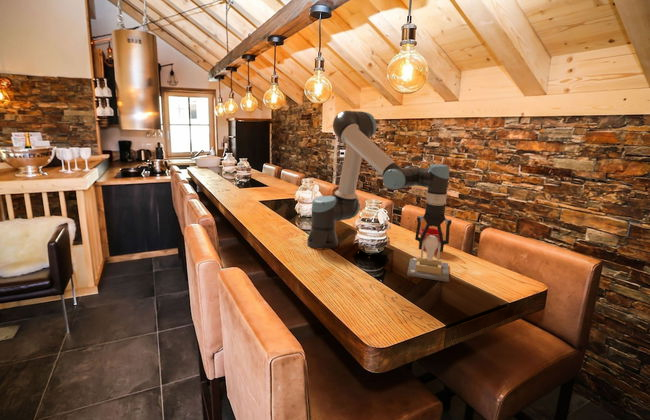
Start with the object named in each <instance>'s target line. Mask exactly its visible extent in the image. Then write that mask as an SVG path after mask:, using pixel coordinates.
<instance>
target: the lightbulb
mask: <svg viewBox="0 0 650 420" xmlns="http://www.w3.org/2000/svg"><path fill="white" fill-rule="evenodd" d="M424 246H425V248H426V251H425V252H426V253H425V254H426V258H427V260H428V261H432V260H433V259H434V256H435V253H436V252H435V251H436V249H437V248H438V246H439V240H438V238H437V237H435V236H432V235H430V236H427V237H426V238H425V240H424Z"/></svg>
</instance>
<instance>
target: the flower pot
mask: <svg viewBox="0 0 650 420" xmlns="http://www.w3.org/2000/svg"><path fill="white" fill-rule="evenodd" d="M424 229H425V227H423V228H420V231H419V237H421V235H422V233H423V231H424ZM441 231H442V235H443V236H444V231H443V230H441ZM430 235H432V236H435V237H437V238H438V240H439V243H441V242H440V238H439V233H438V228H434V227H429V228H428V230H427V233H426V235H425V237H424V239H423V241H424V240H425V238H426V237H427V236H430ZM423 252H426V248H425V246H424V249H423ZM435 253H438V248H437V249H436V251H435Z"/></svg>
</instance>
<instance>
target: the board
mask: <svg viewBox="0 0 650 420" xmlns="http://www.w3.org/2000/svg"><path fill="white" fill-rule="evenodd" d="M449 271H450V270H449V262H442V259H439V260H437V258H433V260H432V261H428V260H427V257H423V258H421V256H417V257H416V258H415V257H413V258H411V257H410V259H409V263H408V268H407V274H406V275H407V277H414V278H420V279H427V280H434V281H438V282H439V281H440V282H447V283H450V273H449Z"/></svg>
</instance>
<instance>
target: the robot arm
mask: <svg viewBox="0 0 650 420" xmlns="http://www.w3.org/2000/svg"><path fill="white" fill-rule="evenodd" d="M332 129H333V131H334V134H335V136H336V137H337V138H338V139H339V140H340V141H341V142H342V143H344V144H346V145H345V151H344V157H343V161H342V168H341V173H340V177H339V183H338V189H337V190H336V191H334V195H321V196H318V197H315V198H314V199H312V202H311V221H310V222H311V225H310V226H311V227H310V230H309V234H308V236H307V243H306V244H307V245H308V246H309V247H310V246H311V248H313V247H315V248H314V249H317V248H323V249H322V250H329V249H334V248H336V247H337V246H338V244H339V240H338V236H337V233H336V232H337V231H336V222H342V221H345V220H346V221H347V220H351V219H353V218H355V217H357V215H358V214H359V212H360V209H361V203H360V201H359V199H358V194H357V193H356V191H357V186H358V182H359V181H358V180H359V175H360V171H361V166H362V165H361V164H362V160H363V159H364V161H365V162H367V164H369V165H370V166H371V168H373V169H374V170H375V171H376V173H378V174H379V175H380V176H381V177H382V181H383V185H384V186H385V188H386V189H389V190H392V189H395V190H397V189H398V190H399V189H402V188H408V187H416V186H418V187H424V188H427V191H426V203H425V208H424V209H425V211H424V214H423V215H422V216H421V215H418V216H417V217H416V221H417V225H416V233H415V238H414V239H415V241H417V242H418V250H421V251H420V257H421V258H424V257H423V256H424V251H423V249H424V241H423V239H424V237H425V235H426V233H427V230H428V228H430V227H435V228H436V229H438V233H439V238H440V242H441V243H439V246H438V251H437V254H436V255H437V256H436V259H437V260H440V256H441V255H440V254H441V253H443V252H444V246H445V245H449V244H450V230H451V229H450V228H451V227H450V226H451V224H452V219H451V218H450V219H449V218H446V216H445V212H446V203H447V195H448V185H449V180H450V167H449V166H448V165H447V164H438V163H437V164H436V163H435V164H431V165H429V167H428V168H425V167H420V166H419V167H418V166H414V165H413V166H409V165H407V166H405V167H404V168H402V167H401V166H400V165H399V164H397V163H396V162H395V161H394V160H393V159H392V158H391V157H390V156H389V155H388V154H387V153H385V151H384V150H382V149H381V148H380V147H379V146H378V145H377V144H376V143H374V142H373V141H372V140H371V139H370V138H371V137H373V135H375V133H376V131H377V121H376V119H375V117H374V116H373V115H372V114H371V113H369V112H365V111H356V110H343V111H341V112H339V113H337V114H336V116H334V119H333V122H332ZM423 220H424V222H425V223H426V225H425V226H424V228H425V229H424V231H423V233H422V235H421V237H420V229H421V224H422V222H423ZM444 222H445V225H446V226H445V240H444V237H443V236H444V234H443V235H442V231H443V230H442V224H443V223H444ZM325 248H327V249H325Z"/></svg>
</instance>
